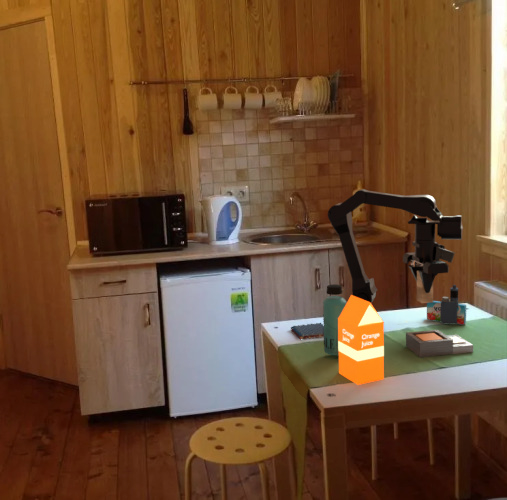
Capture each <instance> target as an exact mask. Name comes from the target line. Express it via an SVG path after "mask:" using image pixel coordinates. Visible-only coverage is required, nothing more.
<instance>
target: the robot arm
mask: <svg viewBox="0 0 507 500" xmlns="http://www.w3.org/2000/svg"><path fill="white" fill-rule="evenodd" d="M363 204H364V205H372V206H378V207H384V208H385V207H387V208H391V209H397V210H398V209H399V210H403V211H405V212H407V213H410V214H412V215H413V216H412V217H411V219H409V220H408V221H407V224H409V225H414V241H412V246H414V252H412V251H411V252H405V253H404V254H403V255H402V263H404V264H407V265H408V264H409V263H410V264H409V265H408V268H409V269H410V272H411V274H412V276H413V278H414V279H415V282H416V283H417V271H419V274H420V277H421V280H422V283H423V287H424V290H425V292H426V293H429V292H430V290H431V287H432V284H433V285H434V281H435V278H436V276H437V275H439V274H447V273H449V272H450V268H449V267H450V266H449V264H448V263H450V264H451V263H453V260H454V256H455V255H456V252H454V251H452V250H448V249H446V247H445V245H443V244H440V243H438V242H436V234H437V236H438V237H440V238H441V240H456V241H457V240H458V241H459V240H463V229H464V227H463V220H462V219H463V218H462V217H463V216H462V215H458V214H457V215H444V214H443V213H442V212H441V211H440V210H439V209H438V206H437V201H436V199H435V198H434V197H433V196H432V195H429V194H416V195H415V194H411V195H403V194H402V195H400V194H393V193H386V192H379V191H372V190H367V189H364V188H362V189H359V190H357V191H356V192H354V194H353V195H351V196H350V197H348V198H347V199H345V200H344V201H343V202H338V203H337V204H334V205H332V206H331V207H330V208H329V209H328V211H327V218H328V221H329V222H330V224H331V226H332V227H333V229H334V231H335V233H336V234H337V235H338V238H339V241H340V244H341V246H342V247H341V248H342V251H343V254H344V257H345V260H346V264H347V266H348V270H349V273H350V276H351V292H352V295H353V296H355V297H358V298H360V299H363V300H366V301H368V302H370V303H371V304H372V302H374V300H375V298H376V295H377V291H378V288H377V287H376V285H375V284H376V283H375V280H374V277H371V278H369V277H368V276H367V274H366V272H365V268H364V265H363V262H362V258H361V255H360V252H359V249H358V246H357V245H358V244H357V242H356V238H355V235H354V231H353V216H352V213H353V211H355V210H356V209H357V208H359V207H360V206H362V205H363ZM436 229H437V231H436ZM445 261H446V262H445ZM447 262H448V263H447Z"/></svg>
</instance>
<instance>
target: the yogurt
mask: <svg viewBox="0 0 507 500" xmlns="http://www.w3.org/2000/svg"><path fill="white" fill-rule="evenodd" d="M426 320H427V321H433V322H439V323H441V301H439V300H438V301H437V300H433V302H430V303H426ZM466 323H467V305H466V304H465V303H458V308H457V324H456V325H460V326H461V325H462V326H463V325H466Z"/></svg>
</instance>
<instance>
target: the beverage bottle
mask: <svg viewBox="0 0 507 500" xmlns="http://www.w3.org/2000/svg"><path fill="white" fill-rule="evenodd" d="M326 294H327V295H331V296H327V297H326V298H324V300H323V301H322V305H323V314H322V317H323V318H322V320H323V323H322V324H323V326H324V330H323V332H324V335H323V336H324V337H323V350H324V352H325V354H327V355H330V356H339V351H338V318H339V316H340V315H341V313H342V311H343V309H344V307H345V305H346V304H347V300H346V299H345V298H344V297H342V296H339V295H341V294H343V287H342V285H341V284H336V283H335V284H334V283H333V284H328V285H327V286H326Z"/></svg>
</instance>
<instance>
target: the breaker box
mask: <svg viewBox="0 0 507 500" xmlns="http://www.w3.org/2000/svg"><path fill="white" fill-rule="evenodd" d="M428 333H435V334H436V335H438V336H439V337H441V338H442V339H441V340H430V341H421V340H420V339H419V338H417V337H416V336H415V335H418V334H428ZM405 347H406V348H408V349H409V350H410V351H411V352H413V354H415V355H416V356H417V357H419V358H428V357H429V358H430V357H437V356H446V355H457V354H466V353H467V354H468V353H474V344H472V343H471V342H470V341H468V340H466V339H464V338H463V337H461V336H459V335H458V334H449V335H447V334H445V333H443V332H442V331H440V330H439V329H429V330H420V331H410V332H407V331H406V333H405Z"/></svg>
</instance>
